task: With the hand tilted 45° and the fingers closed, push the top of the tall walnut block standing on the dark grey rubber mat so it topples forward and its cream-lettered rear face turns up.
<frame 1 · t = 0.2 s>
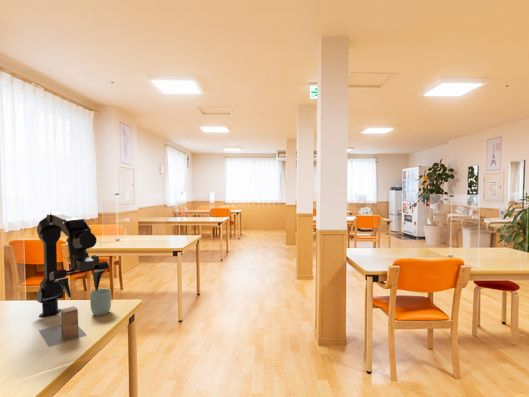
hand: (83, 294, 121), 15 cm above the table, tool pointing down, fingers open, 9 cm apart
mat: (62, 333, 123), on the table
block: (70, 336, 120), resting on mat
cup: (101, 314, 142), on the table
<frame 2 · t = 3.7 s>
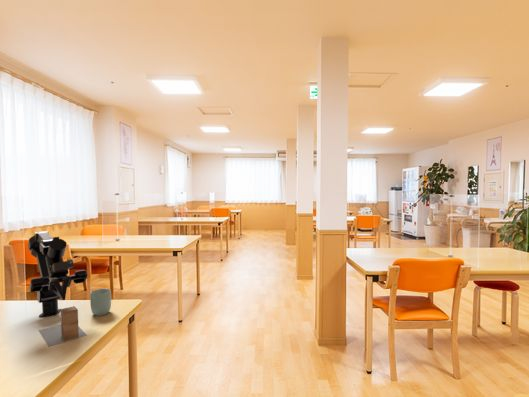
hand: (63, 299, 125), 12 cm above the table, tool tilted 45°, fingers closed
nothing on the table moved.
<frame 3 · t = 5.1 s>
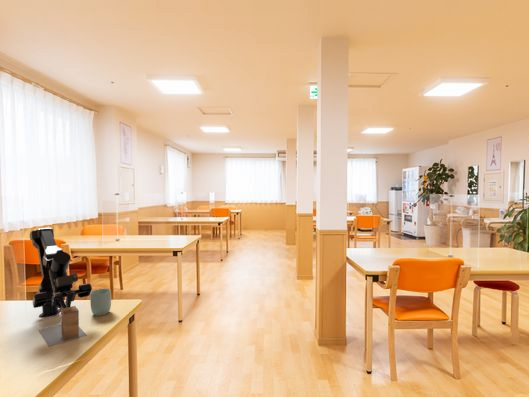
hand: (68, 314, 121), 8 cm above the table, tool tilted 45°, fingers closed
block: (70, 335, 120), point 1 cm above the table, tilted 6°, touching mat
everything else where it was.
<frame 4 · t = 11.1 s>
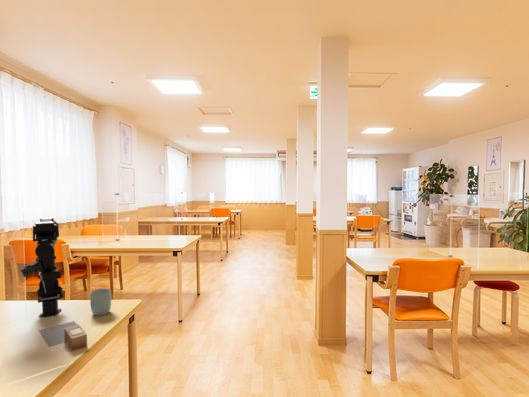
hand: (47, 293, 130), 13 cm above the table, tool pointing down, fingers closed
block: (71, 332, 118), point 3 cm above the table, tilted 93°, touching mat
everything else where it was.
at the end: block tilted 93°; block inside the target area (2.7 cm from its centre), point 2.7 cm above the table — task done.
